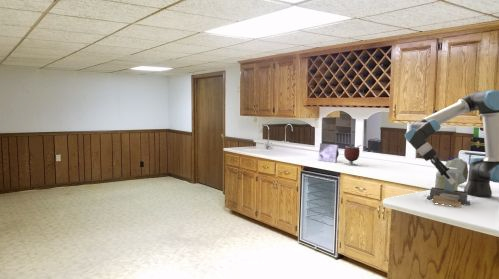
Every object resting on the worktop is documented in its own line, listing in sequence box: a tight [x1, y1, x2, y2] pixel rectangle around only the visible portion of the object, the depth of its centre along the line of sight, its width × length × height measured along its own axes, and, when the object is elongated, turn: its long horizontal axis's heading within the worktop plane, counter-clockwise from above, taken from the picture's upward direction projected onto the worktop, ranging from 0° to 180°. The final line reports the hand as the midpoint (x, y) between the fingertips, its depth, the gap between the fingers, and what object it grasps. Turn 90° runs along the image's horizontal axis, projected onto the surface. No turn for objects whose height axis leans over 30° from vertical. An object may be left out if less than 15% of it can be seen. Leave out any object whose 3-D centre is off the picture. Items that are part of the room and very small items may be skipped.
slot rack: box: [426, 186, 471, 206], centre depth 213 cm, size 8×21×6 cm, turn 59°
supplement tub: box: [434, 167, 459, 191], centre depth 230 cm, size 12×12×17 cm
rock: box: [444, 157, 469, 186], centre depth 273 cm, size 27×6×20 cm, turn 1°
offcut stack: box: [432, 193, 462, 208], centre depth 203 cm, size 8×13×5 cm, turn 59°
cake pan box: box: [318, 143, 340, 164], centre depth 380 cm, size 19×5×18 cm, turn 58°
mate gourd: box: [343, 144, 362, 167], centre depth 362 cm, size 16×14×20 cm
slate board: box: [444, 172, 456, 192], centre depth 213 cm, size 3×5×16 cm, turn 59°
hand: (454, 181), depth 212 cm, fingers open, 13 cm apart
